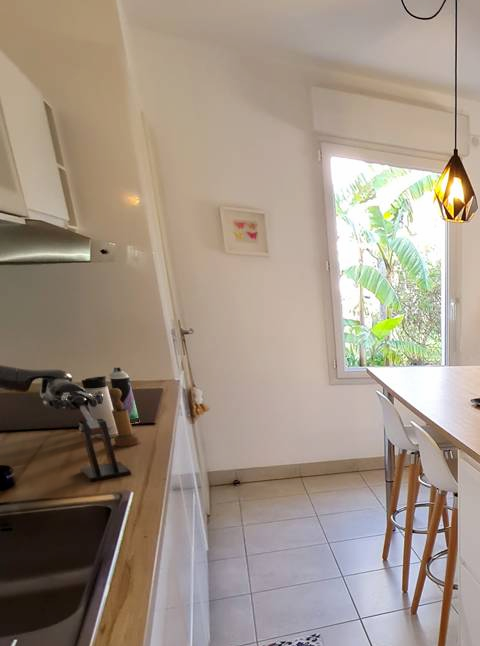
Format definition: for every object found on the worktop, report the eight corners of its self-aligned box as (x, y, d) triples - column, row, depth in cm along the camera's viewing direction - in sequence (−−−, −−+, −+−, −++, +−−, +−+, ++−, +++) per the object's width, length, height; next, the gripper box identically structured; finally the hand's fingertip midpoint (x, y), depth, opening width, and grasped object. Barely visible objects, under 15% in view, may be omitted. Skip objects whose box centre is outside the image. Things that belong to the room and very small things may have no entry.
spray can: (123, 425, 197) (109, 369, 190) (119, 422, 201) (105, 367, 193) (141, 422, 201) (128, 367, 194) (137, 420, 204) (124, 365, 197)
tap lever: (70, 405, 151) (68, 394, 149) (86, 403, 154) (85, 392, 152) (88, 437, 146) (86, 427, 144) (104, 435, 149) (103, 424, 146)
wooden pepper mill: (112, 444, 176) (97, 388, 170) (135, 439, 181) (122, 385, 175) (120, 448, 173) (106, 391, 166) (144, 443, 178) (130, 388, 171)
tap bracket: (81, 472, 152) (66, 420, 146) (120, 465, 158) (107, 415, 153) (91, 482, 145) (75, 428, 140) (131, 474, 151) (118, 422, 146)
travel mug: (114, 438, 182) (99, 378, 174) (92, 438, 181) (75, 378, 173) (124, 433, 187) (110, 374, 180) (103, 433, 186) (87, 374, 179)
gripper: (32, 384, 153) (44, 394, 143) (95, 379, 163) (110, 387, 153) (40, 411, 156) (52, 422, 145) (101, 404, 166) (117, 414, 155)
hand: (82, 404), depth 149 cm, fingers open, 4 cm apart
